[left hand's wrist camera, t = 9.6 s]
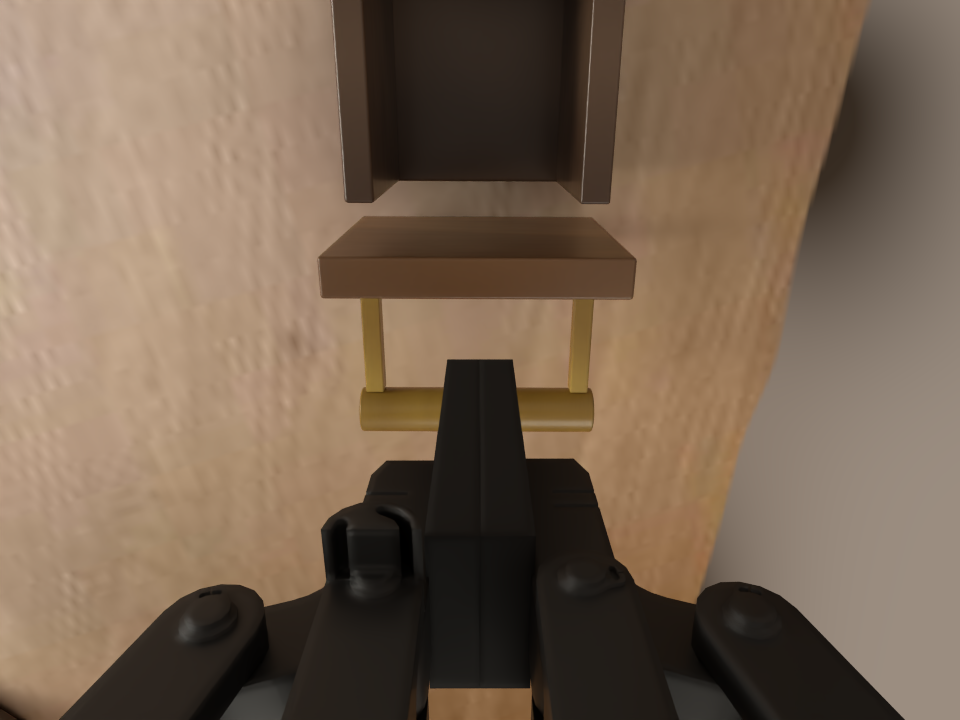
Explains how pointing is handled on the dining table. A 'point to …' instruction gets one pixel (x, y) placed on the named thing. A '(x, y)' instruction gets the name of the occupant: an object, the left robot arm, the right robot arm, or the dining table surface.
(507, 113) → the drawer
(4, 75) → the dining table surface
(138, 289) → the dining table surface
